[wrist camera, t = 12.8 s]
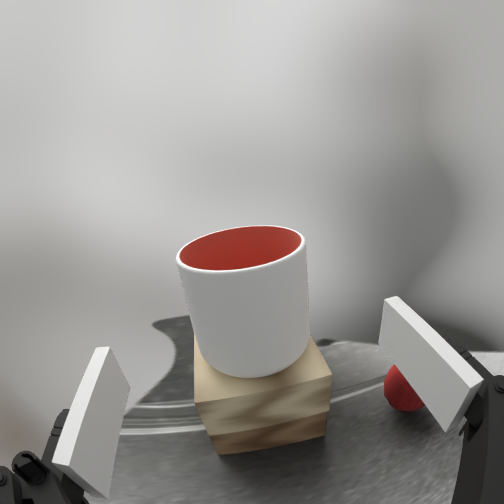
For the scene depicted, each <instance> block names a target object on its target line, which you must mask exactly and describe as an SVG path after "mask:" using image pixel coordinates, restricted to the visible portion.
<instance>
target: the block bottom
mask: <svg viewBox="0 0 504 504" xmlns="http://www.w3.org/2000/svg"><path fill="white" fill-rule="evenodd" d="M327 412H328V411H326V412H322V413H319V414H315V415H312V416H308V417H305V418H301V419H297V420H293V421H289V422H285V423H280V424H276V425H271V426H267V427H262V428H256V429H251V430H246V431H240V432H234V433H227V434H220V435H212V436H209V437H210V439H211V441H212V443H213V446H214V448H215V450H216V452H217V454H218V455H226V454H235V453H242V452H249V451H255V450H261V449H267V448H272V447H277V446H282V445H287V444H292V443H296V442H300V441H305V440H309V439H312V438H316V437H320V436H324V435H325V431H326V422H327Z"/></svg>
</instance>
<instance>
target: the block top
mask: <svg viewBox="0 0 504 504" xmlns="http://www.w3.org/2000/svg"><path fill="white" fill-rule="evenodd" d="M331 386H332V373H331V371H330V369H329V367H328V366H327V364H326V362H325V360H324V358H323V357H322V355H321V353H320V351H319V350H318V348H317V346H316V344H315V343H314V341H313V339H312V337H311V335H310V336H309V341H308V344H307V347H306V349H305V351H304V352H303V354H302V355H301V356H300V357H299V358H298V359H297V360H296V361H295V362H294V363H293V364H292V365H290V366H289V367H287V368H285V369H284V370H282V371H279V372H277V373H275V374H271V375H268V376H264V377H257V378H240V377H234V376H230V375H227V374H224V373H221V372H219V371H218V370H216V369H214V368H213V367H211V366H210V365H209V364H208V363H207V362H206V361H205V360H204V358H203V357H202V355H201V353H200V350H199V347H198V344H197V340H196V337H195V333H194V397H195V405H196V407H197V410H198V412H199V414H200V417H201V419H202V421H203V424H204V426H205V428H206V430H207V433H208V435H209V436H212V435H220V434H227V433H234V432H240V431H246V430H251V429H256V428H262V427H267V426H271V425H276V424H280V423H285V422H289V421H293V420H297V419H301V418H305V417H308V416H312V415H315V414H319V413H322V412H326V411H329V408H330V398H331Z"/></svg>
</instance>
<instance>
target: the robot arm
mask: <svg viewBox="0 0 504 504" xmlns="http://www.w3.org/2000/svg"><path fill="white" fill-rule="evenodd" d="M379 345H380V346H381V347H382V349H383V350H384V351H385V352H386V354H387V355H388V356H389V358H390V359H391V360H392V361H393V363H394V364H395V365H396V367H397V368H398V369H399V370H400V372H401V373H402V374H403V376H404V377H405V378H406V380H407V381H408V382H409V384H410V385H411V386H412V388H413V389H414V390H415V392H416V393H417V394H418V396H419V397H420V398H421V400H422V401H423V402H424V404H425V405H426V406H427V408H428V409H429V411H430V412H431V413H432V415H433V416H434V417H435V419H436V420H437V422H438V423H439V424H440V426H441V427H442V429H443V430H444V431H445V432H447V431H449V430H450V429H452V428H454V427H455V426H457V425H458V424H459V423H460V421H461V420H462V418H463V416H465V417H466V419H467V421H466V423H465V424H464V426H463V427H462V429H461V430H460V432H459V435H458V436H461V434H462V433H463V431H464V430H465V431H464V439H463V447H462V454H461V460H460V466H459V471H458V477H457V481H456V486H455V490H454V494H453V498H452V502H451V504H504V376H502V375H497V376H493V375H492V374H491V373H490V372H489V371H488V370H487V369H486V368H485V367H484V366H483V365H482V364H481V363H480V362H479V361H477V360H476V359H475V358H474V357H472V355H471V354H470V353H469V352H468V351H466V349H465V348H464V347H463V346H462V345H461V344H460V343H458V342H456V341H454V340H452V339H447V340H444V339H443V338H442V337H441V336H440V335H439V334H438V333H437V332H436V331H435V330H434V329H432V328H431V327H430V326H429V325H428V324H427V323H426V322H425V321H424V320H423V319H422V318H421V317H420V316H418V315H417V314H416V313H415V312H414V311H413V310H412V309H411V308H410V307H409V306H407V305H406V304H405V303H404V302H403V301H402V300H401V299H399V297H397V296H395V297H391V298H388V299H385V300H384V307H383V315H382V323H381V330H380V337H379ZM129 391H130V386H129V384H128V382H127V380H126V378H125V376H124V374H123V372H122V370H121V368H120V366H119V365H118V362H117V360H116V358H115V356H114V354H113V352H112V350H111V347H97V348H96V350H95V352H94V354H93V356H92V358H91V361H90V363H89V365H88V367H87V370H86V372H85V374H84V377H83V379H82V381H81V384H80V386H79V388H78V391H77V393H76V396H75V398H74V401H73V403H72V406H71V409H63V411H62V412H61V413H60V414H59V415H58V417H57V418H56V421H55V423H54V428H53V429H52V431H51V436H50V437H49V439H48V442H47V445H46V448H45V451H44V454H43V456H42V459H41V460H40V459H39V458H38V457H37V456H36V455H35V454H33V453H32V452H30V451H23V452H20V453H18V454H17V455H16V456H15V458H14V459H13V462H12V471H13V472H15V473H13V472H11V471H10V470H9V469H8V468H6V467H4V466H0V504H89V503H88V501H87V500H86V498H85V497H84V496H83V495H84V491H86V492H87V493H88V494H90V495H91V496H93V497H99V498H105V499H108V498H109V491H110V484H111V478H112V472H113V466H114V461H115V455H116V450H117V445H118V440H119V435H120V430H121V425H122V421H123V416H124V412H125V407H126V403H127V399H128V394H129Z"/></svg>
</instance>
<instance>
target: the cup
mask: <svg viewBox="0 0 504 504" xmlns="http://www.w3.org/2000/svg"><path fill="white" fill-rule="evenodd" d="M176 263H177V268H178V272H179V276H180V280H181V284H182V288H183V292H184V296H185V300H186V304H187V307H188V311H189V315H190V319H191V322H192V326H193V330H194V333H195V337H196V340H197V344H198V347H199V350H200V353H201V355H202V357H203V358H204V360H205V361H206V362H207V363H208V364H209V365H210V366H211V367H213V368H214V369H216V370H218V371H219V372H221V373H224V374H227V375H230V376H234V377H240V378H257V377H264V376H268V375H271V374H275V373H277V372H279V371H282V370H284V369H285V368H287V367H289V366H290V365H292V364H293V363H294V362H295V361H296V360H297V359H298V358H299V357H300V356H301V355H302V354H303V352H304V351H305V349H306V347H307V344H308V341H309V336H310V326H309V297H308V296H309V295H308V274H307V254H306V241H305V238H304V237H303V236H302V235H301V234H300V233H299V232H297V231H295V230H292V229H289V228H285V227H278V226H245V227H237V228H231V229H226V230H222V231H217V232H214V233H210V234H207V235H205V236H202V237H199V238H197V239H195V240H193V241H192V242H189V243H188V244H186V245H185V246H184V247H182V249H180V251H179V252H178V253H177V256H176Z"/></svg>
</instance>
